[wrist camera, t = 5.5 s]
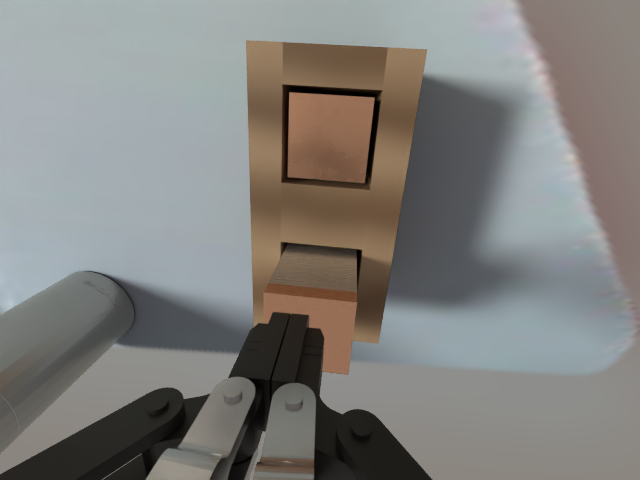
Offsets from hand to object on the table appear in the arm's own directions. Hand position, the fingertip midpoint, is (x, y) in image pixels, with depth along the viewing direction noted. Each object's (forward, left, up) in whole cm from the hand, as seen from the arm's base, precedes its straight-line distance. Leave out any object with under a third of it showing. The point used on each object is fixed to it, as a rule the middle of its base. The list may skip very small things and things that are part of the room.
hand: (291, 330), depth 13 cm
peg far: (+5, +4, -18) cm, 20 cm away
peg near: (-2, -2, -12) cm, 13 cm away
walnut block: (+2, +1, -19) cm, 19 cm away
